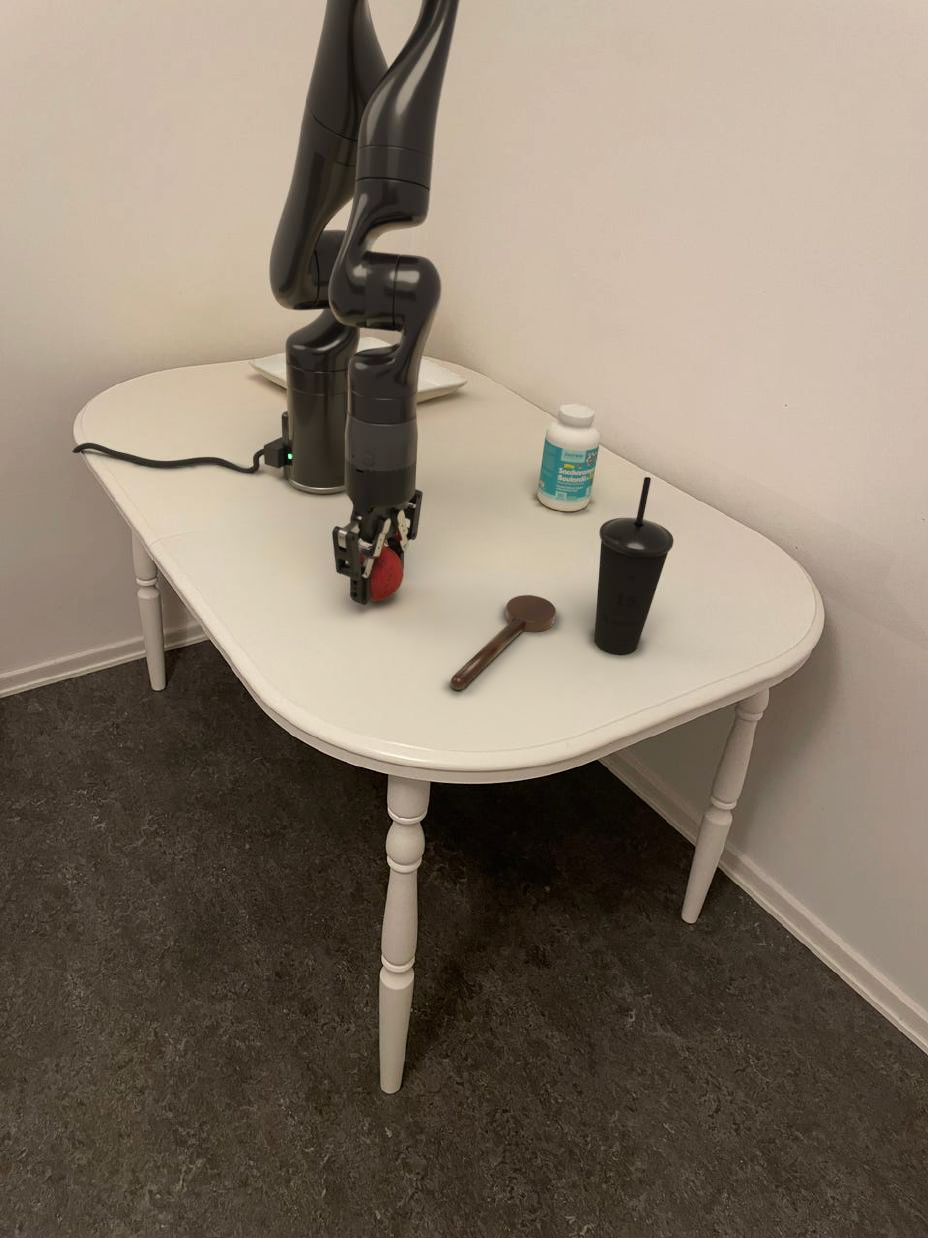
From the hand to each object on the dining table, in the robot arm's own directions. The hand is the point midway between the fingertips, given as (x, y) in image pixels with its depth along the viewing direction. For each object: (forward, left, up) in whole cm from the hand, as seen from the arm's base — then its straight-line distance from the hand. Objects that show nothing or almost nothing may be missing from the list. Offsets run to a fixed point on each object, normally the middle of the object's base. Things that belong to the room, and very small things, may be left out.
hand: (377, 588), depth 109 cm
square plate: (-41, +53, -2) cm, 67 cm away
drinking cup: (+26, +9, -2) cm, 28 cm away
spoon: (+16, 0, -2) cm, 16 cm away
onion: (0, 0, -2) cm, 2 cm away
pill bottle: (+6, +37, -2) cm, 38 cm away
